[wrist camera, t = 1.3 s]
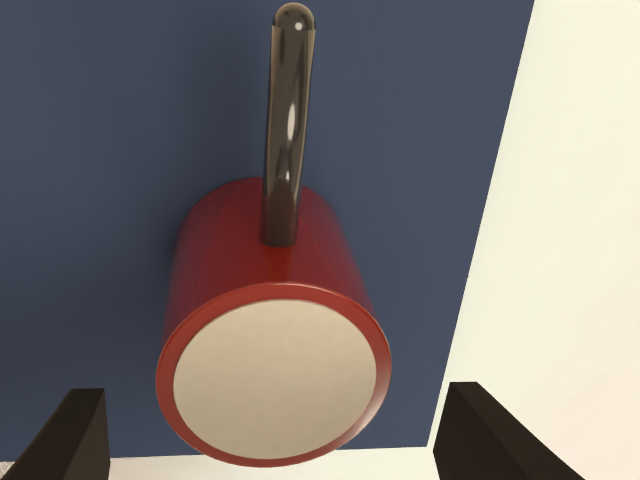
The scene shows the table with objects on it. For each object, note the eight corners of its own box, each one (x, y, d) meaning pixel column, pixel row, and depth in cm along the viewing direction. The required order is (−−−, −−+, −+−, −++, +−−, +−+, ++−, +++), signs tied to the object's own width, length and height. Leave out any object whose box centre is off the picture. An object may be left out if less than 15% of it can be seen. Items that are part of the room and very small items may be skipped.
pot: (336, 326, 21) (375, 466, 16) (174, 326, 20) (157, 475, 15) (382, -7, 16) (460, 30, 11) (170, -27, 15) (142, 3, 10)
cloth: (424, 441, 24) (426, 446, 24) (-5, 455, 22) (-7, 462, 21) (533, -15, 17) (538, -14, 16) (-110, -80, 14) (-116, -80, 14)
